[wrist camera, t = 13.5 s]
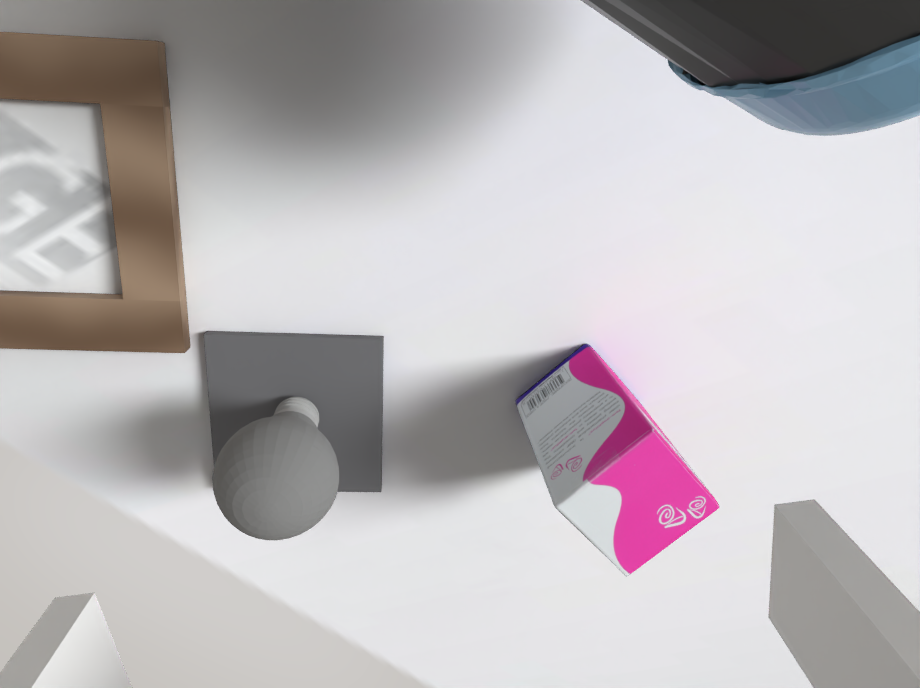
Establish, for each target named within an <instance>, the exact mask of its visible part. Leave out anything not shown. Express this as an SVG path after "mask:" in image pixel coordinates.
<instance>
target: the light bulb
mask: <svg viewBox="0 0 920 688" xmlns="http://www.w3.org/2000/svg"><path fill="white" fill-rule="evenodd" d="M318 423H319V413H318V410H317V408H316V407H315V405H314V404H313V403H312V402H311V401H309V400H307V399H305V398H302V397H290V398H287V399H285V400H283V401H282V402H281V403H280V404H279V405H278V406H277V408H276V411H275V413H274V415H273V416H272V417H266V418H261V419H259V420H256V421H253V422H251V423H249V424H248V425H246V426H244V427H243V428H241V429H240V430H238V431H237V432H236V433H235V434H234V435H233V436H232V437H231V438H230V439H229V440H228V441H227V443H226V444H225V445H224V447H223V448H222V450H221V451H220V453H219V455H218V458H217V460H216V463H215V465H214V471H213V490H214V495H215V498H216V501H217V504H218V506H219V508H220V510H221V511H222V513H223V515H224V516H225V517H226V519H227V520H228V521H229V522H230V523H231V524H232V525H233V526H234V527H236V528H237V529H238V530H240V531H241V532H243V533H245V534H247V535H249V536H252V537H255V538H258V539H264V540H281V539H287V538H291V537H294V536H297V535H300V534H302V533H303V532H305V531H307V530H309V529H310V528H312V527H313V526H314V525H316V524H317V523H318V522H319V521H320V520H321V519H322V518H323V517H324V516H325V515H326V513H327V512H328V511H329V509H330V508H331V506H332V504H333V502H334V500H335V498H336V495H337V490H338V486H339V466H338V462H337V458H336V454H335V452H334V450H333V448H332V446H331V444H330V442H329V441H328V440H327V438H326V437H325V436H324V435H323V434H322V433H321V432H320V431H319V430H318V428H317V427H318Z"/></svg>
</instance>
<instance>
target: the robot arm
mask: <svg viewBox="0 0 920 688" xmlns="http://www.w3.org/2000/svg"><path fill="white" fill-rule="evenodd" d="M581 1H583V2H584V3H586V4H587V5H589V6H590V7H591V8H593V9H594V10H596V11H597V12H599V13H600V14H602V15H603V16H605V17H606V18H608V19H609V20H611V21H612V22H613V23H615V24H616V25H618V26H619V27H621V28H622V29H624V30H625V31H627V32H628V33H630V34H631V35H632V36H634V37H635V38H637V39H638V40H640V41H641V42H643V43H644V44H646V45H647V46H649V47H650V48H652V49H653V50H654V51H656V52H657V53H659V54H660V55H662V56H663V57H665V58H666V59H668V64H669V66H670V68H671V69H672V70H673V72H674V73H675V74H676V75H678V76H679V77H680V78H681V79H682V80H683V81H685V82H686V83H687V84H689V85H690V86H692V87H694V88H696V89H698V90H704V91H706V92H708V93H710V94H712V95H715V96H722V97H724V98H726V99H727V100H729V101H730V102H732V103H734V104H735V105H737V106H739V107H740V108H742V109H744V110H745V111H747V112H748V113H750V114H752V115H753V116H755V117H757V118H758V119H760V120H761V121H763V122H765V123H767V124H769V125H771V126H774V127H776V128H779V129H782V130H788V131H792V132H797V133H801V134H806V135H819V136H828V135H842V134H851V133H857V132H862V131H868V130H872V129H877V128H881V127H885V126H888V125H892V124H895V123H898V122H901V121H904V120H907V119H910V118H913V117H916V116H919V115H920V0H581ZM769 619H770V620H771V622H772V623H773V625H774V627H775V628H776V630H777V631H778V633H779V634H780V636H781V638H782V639H783V641H784V642H785V644H786V645H787V647H788V648H789V650H790V652H791V653H792V655H793V656H794V658H795V659H796V661H797V663H798V664H799V666H800V667H801V669H802V670H803V672H804V673H805V675H806V677H807V678H808V680H809V681H810V683H811V684H812V686H813V687H814V688H920V612H919V611H918V610H917V609H916V608H915V606H914V605H913V604H912V603H911V602H910V601H909V600H908V599H907V598H906V597H905V596H904V595H903V594H902V593H901V592H900V590H899V589H898V588H897V587H896V586H895V585H894V584H893V583H892V582H891V581H890V580H889V579H888V578H887V577H886V575H885V574H884V573H883V572H882V571H881V570H880V569H879V568H878V567H877V566H876V565H875V564H874V563H873V562H872V561H871V559H870V558H869V557H868V556H867V555H866V554H865V553H864V552H863V551H862V550H861V549H860V548H859V547H858V546H857V544H856V543H855V542H854V541H853V540H852V539H851V538H850V537H849V536H848V535H847V534H846V533H845V532H844V531H843V530H842V528H841V527H840V526H839V525H838V524H837V523H836V522H835V521H834V520H833V519H832V518H831V517H830V516H829V515H828V513H827V512H826V511H825V510H824V509H823V508H822V507H821V506H820V505H819V504H818V503H817V502H816V501H815V500H807V501H799V502H791V503H783V504H776V505H775V506H774V525H773V543H772V562H771V581H770V600H769ZM0 688H132V685H131V683H130V680H129V678H128V675H127V673H126V670H125V668H124V665H123V663H122V660H121V658H120V656H119V653H118V650H117V648H116V646H115V643H114V640H113V638H112V635H111V633H110V630H109V628H108V625H107V623H106V620H105V618H104V615H103V613H102V610H101V608H100V605H99V603H98V600H97V598H96V595H95V593H88V594H80V595H72V596H65V597H57V598H55V599H54V600H53V601H52V603H51V604H50V606H49V607H48V608H47V609H46V611H45V612H44V613H43V615H42V616H41V618H40V619H39V620H38V622H37V623H36V624H35V626H34V627H33V628H32V630H31V631H30V633H29V634H28V635H27V637H26V638H25V639H24V641H23V642H22V643H21V645H20V646H19V648H18V649H17V650H16V652H15V653H14V654H13V656H12V657H11V658H10V660H9V661H8V663H7V664H6V665H5V667H4V668H3V669H2V671H1V672H0Z"/></svg>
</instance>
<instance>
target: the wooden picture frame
mask: <svg viewBox="0 0 920 688" xmlns="http://www.w3.org/2000/svg"><path fill="white" fill-rule="evenodd" d="M0 98H1V99H20V100H39V101H59V102H78V103H97V104H100V106H101V114H102V123H103V131H104V140H105V148H106V157H107V165H108V174H109V183H110V191H111V200H112V208H113V217H114V225H115V234H116V242H117V251H118V260H119V268H120V277H121V285H122V294H92V293H61V292H30V291H0V348H9V349H47V350H86V351H124V352H162V353H185V352H186V351H187V350H188V349H189V348H190V337H189V325H188V314H187V302H186V290H185V278H184V267H183V255H182V243H181V232H180V220H179V208H178V196H177V185H176V173H175V161H174V150H173V138H172V126H171V114H170V103H169V91H168V79H167V68H166V56H165V44H164V43H163V42H159V41H149V40H132V39H115V38H98V37H81V36H64V35H47V34H30V33H13V32H0Z"/></svg>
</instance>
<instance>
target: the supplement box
mask: <svg viewBox="0 0 920 688" xmlns="http://www.w3.org/2000/svg"><path fill="white" fill-rule="evenodd" d="M515 402H516V405H517V408H518V411H519V414H520V416H521V419H522V422H523V425H524V427H525V430H526V432H527V435H528V438H529V440H530V443H531V446H532V448H533V451H534V453H535V456H536V459H537V461H538V464H539V466H540V469H541V472H542V474H543V477H544V480H545V483H546V485H547V488H548V491H549V493H550V496H551V498H552V501H553V504H554V506H555V508H556V509H557V510H558V511H559V512H560V513H561V514H562V515H563V516H564V517H565V518H566V519H568V520H569V521H570V522H571V523H572V524H573V525H574V526H575V527H576V528H577V529H578V530H579V531H580V532H581V533H582V534H583V535H584V536H585V537H586V538H587V539H588V540H589V541H590V542H591V543H592V544H593V545H594V546H595V547H597V548H598V549H599V550H600V551H601V552H602V553H603V554H604V555H605V556H606V557H607V558H608V559H609V560H610V561H611V562H612V563H613V564H614V565H615V566H616V567H617V568H618V569H619V570H620V571H621V572H622V573H623V574H624V575H625V576H629V575H630V574H631V573H632V572H634V571H635V570H637V569H638V568H639V567H641V566H642V565H643V564H645V563H646V562H647V561H649V560H650V559H651V558H653V557H654V556H655V555H657V554H658V553H659V552H661V551H662V550H663V549H665V548H666V547H667V546H669V545H670V544H671V543H673V542H674V541H675V540H677V539H678V538H679V537H681V536H682V535H683V534H685V533H686V532H687V531H689V530H690V529H691V528H693V527H694V526H696V525H697V524H698V523H700V522H701V521H702V520H704V519H705V518H706V517H708V516H709V515H710V514H712V513H713V512H714V511H716V510H717V509H718V508H719V504H718V503H717V501H716V500H715V498H714V497H713V496H712V494H711V493H710V492H709V490H708V489H707V488H706V487H705V485H704V484H703V483H702V481H701V480H700V479H699V478H698V476H697V475H696V474H695V473H694V472H693V470H692V469H691V467H690V466H689V465H688V464H687V462H686V461H685V460H684V458H683V457H682V456H681V455H680V453H679V452H678V451H677V450H676V448H675V447H674V446H673V445H672V443H671V442H670V441H669V439H668V438H667V437H666V436H665V434H664V433H663V432H662V431H661V429H660V428H659V427H658V425H657V424H656V423H655V422H654V420H653V419H652V418H651V416H650V415H649V414H648V413H647V411H646V410H645V409H644V407H643V406H642V405H641V404H640V402H639V401H638V400H637V399H636V398H635V397H634V395H633V394H632V393H631V392H630V391H629V389H628V388H627V387H626V386H625V385H624V384H623V382H622V381H621V380H620V379H619V378H618V376H617V375H616V374H615V373H614V372H613V371H612V370H611V368H610V367H609V366H608V365H607V364H606V363H605V362H604V360H603V359H602V358H601V357H600V356H599V355H598V354H597V353H596V351H595V350H594V349H593V348H592V347H591V346H590V345H588V344H585V345H583V346H581V347H580V348H579V349H578V350H576V351H575V352H574V353H573V354H572V355H570V356H569V357H568V358H567V359H565V360H564V361H563V362H562V363H560V364H559V365H558V366H557V367H556V368H555V369H553V370H552V371H551V372H550V373H548V374H547V375H546V376H545V377H543V378H542V379H541V380H540V381H539V382H537V383H536V384H535V385H534V386H533V387H531V388H530V389H529V390H528V391H527V392H525V393H524V394H523V395H522V396H521V397H519V398H518V399H517V400H516V401H515Z"/></svg>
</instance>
